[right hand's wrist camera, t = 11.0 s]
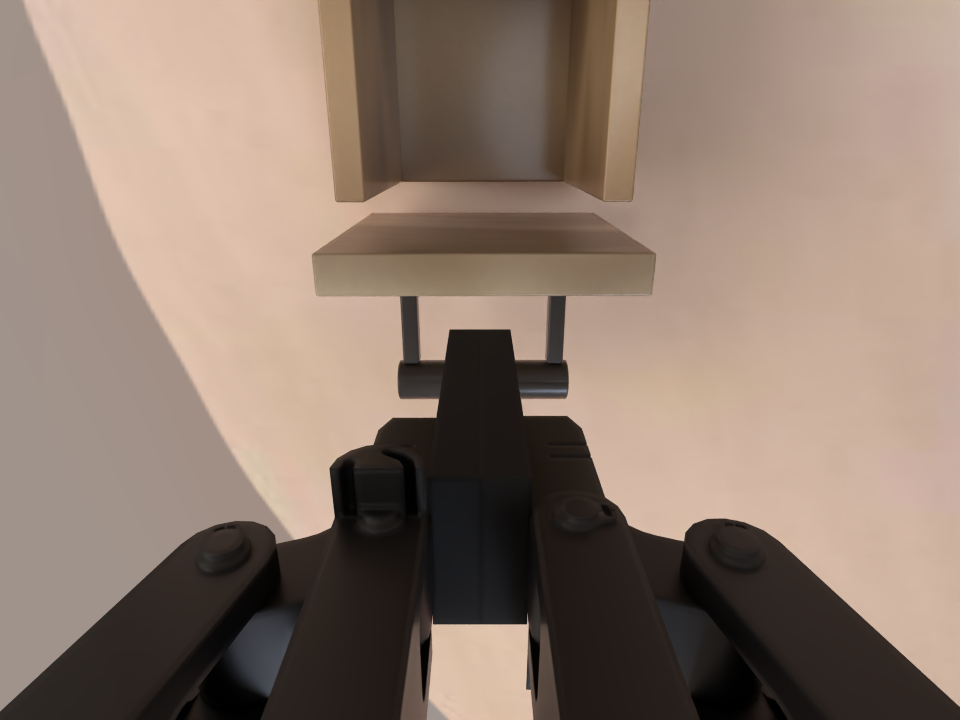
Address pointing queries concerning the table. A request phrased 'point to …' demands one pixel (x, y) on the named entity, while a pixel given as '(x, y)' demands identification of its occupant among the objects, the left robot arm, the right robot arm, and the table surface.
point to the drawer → (483, 156)
